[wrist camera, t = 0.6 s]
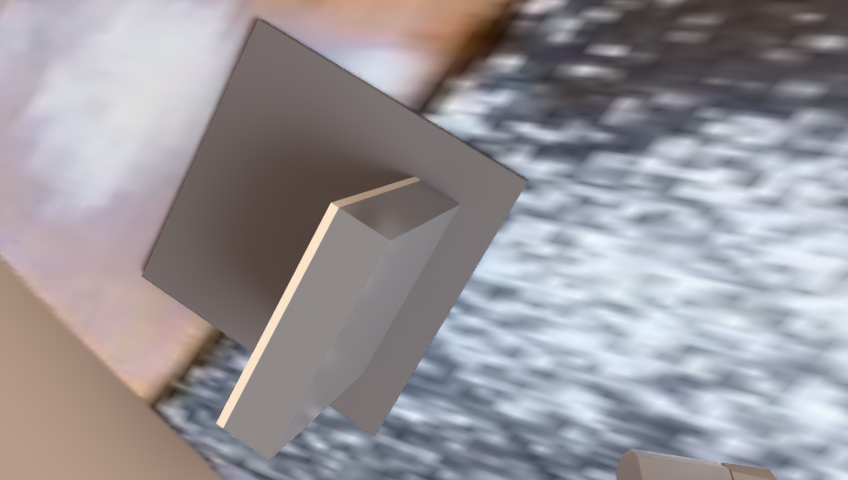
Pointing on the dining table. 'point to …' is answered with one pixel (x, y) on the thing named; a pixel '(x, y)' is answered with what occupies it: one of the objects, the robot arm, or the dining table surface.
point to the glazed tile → (336, 309)
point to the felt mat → (318, 203)
